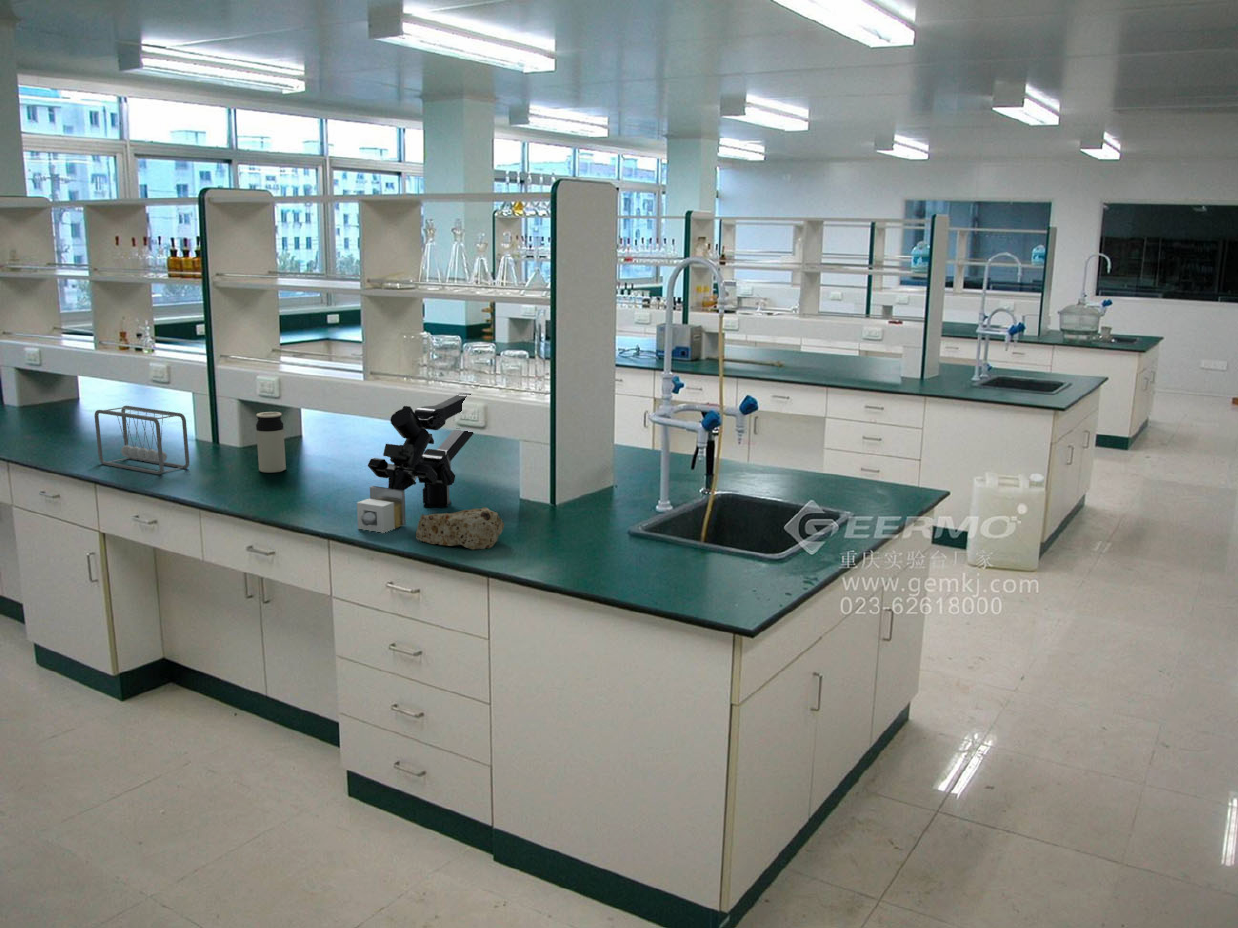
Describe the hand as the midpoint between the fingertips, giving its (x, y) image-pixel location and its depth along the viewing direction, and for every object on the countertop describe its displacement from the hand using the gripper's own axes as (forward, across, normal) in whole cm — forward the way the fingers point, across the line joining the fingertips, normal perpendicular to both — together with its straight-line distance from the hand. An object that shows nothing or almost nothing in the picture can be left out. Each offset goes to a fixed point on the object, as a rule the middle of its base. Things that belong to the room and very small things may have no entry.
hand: (389, 498), depth 256 cm
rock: (+8, +24, +2) cm, 25 cm away
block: (+9, 0, +1) cm, 9 cm away
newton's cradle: (-6, -107, +16) cm, 109 cm away
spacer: (+6, 0, +3) cm, 7 cm away
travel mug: (-17, -69, +27) cm, 76 cm away
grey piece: (+8, 0, +1) cm, 8 cm away
